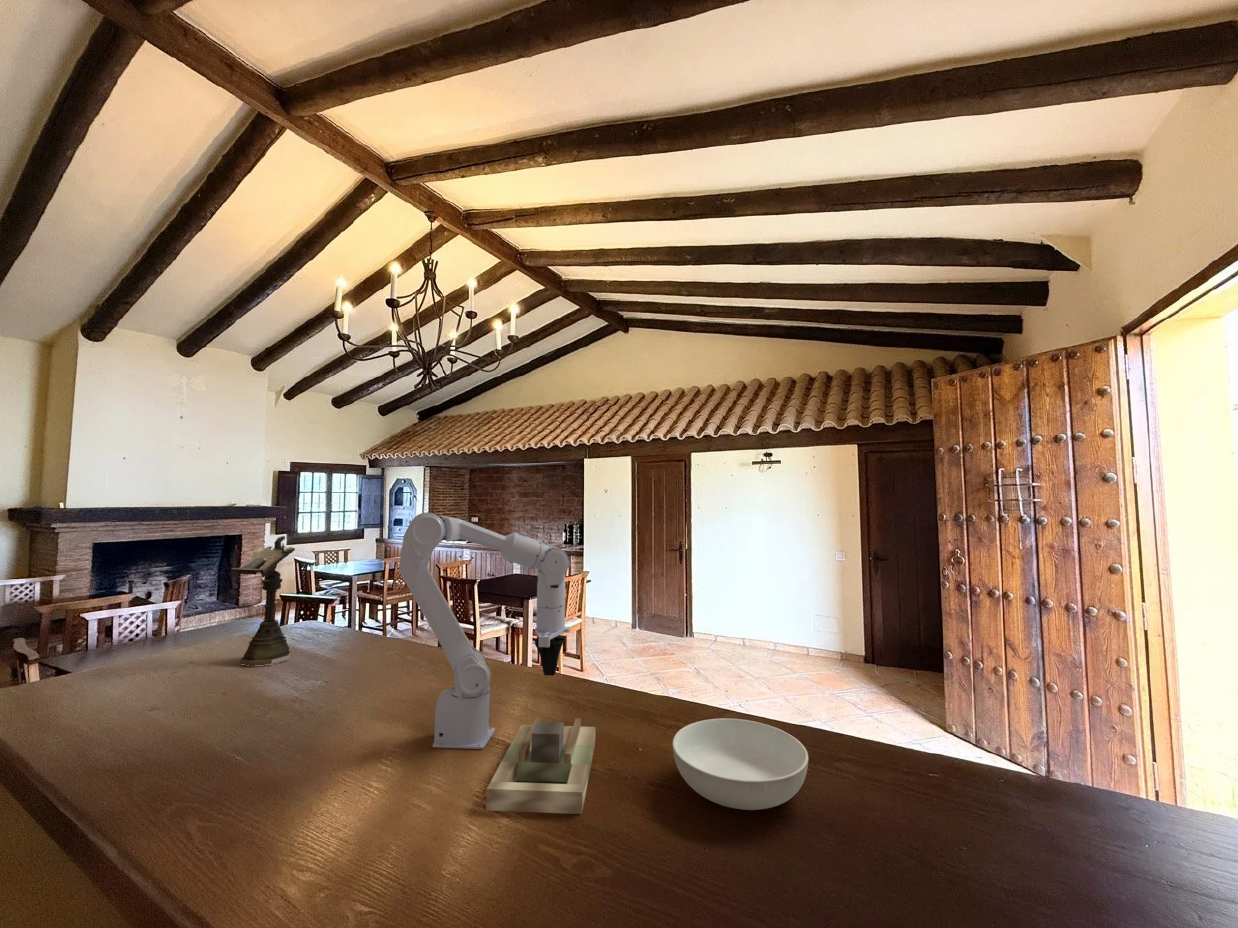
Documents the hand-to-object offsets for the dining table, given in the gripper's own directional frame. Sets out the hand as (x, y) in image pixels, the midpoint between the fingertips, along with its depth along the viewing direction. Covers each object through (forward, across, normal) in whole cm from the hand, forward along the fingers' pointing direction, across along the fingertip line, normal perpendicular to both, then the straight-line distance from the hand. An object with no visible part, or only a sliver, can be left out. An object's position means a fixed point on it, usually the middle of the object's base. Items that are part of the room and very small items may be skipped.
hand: (549, 674), depth 103 cm
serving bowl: (+11, -20, -34) cm, 41 cm away
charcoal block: (+7, -18, -3) cm, 19 cm away
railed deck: (+10, -17, -3) cm, 20 cm away
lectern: (+10, +35, +86) cm, 94 cm away
